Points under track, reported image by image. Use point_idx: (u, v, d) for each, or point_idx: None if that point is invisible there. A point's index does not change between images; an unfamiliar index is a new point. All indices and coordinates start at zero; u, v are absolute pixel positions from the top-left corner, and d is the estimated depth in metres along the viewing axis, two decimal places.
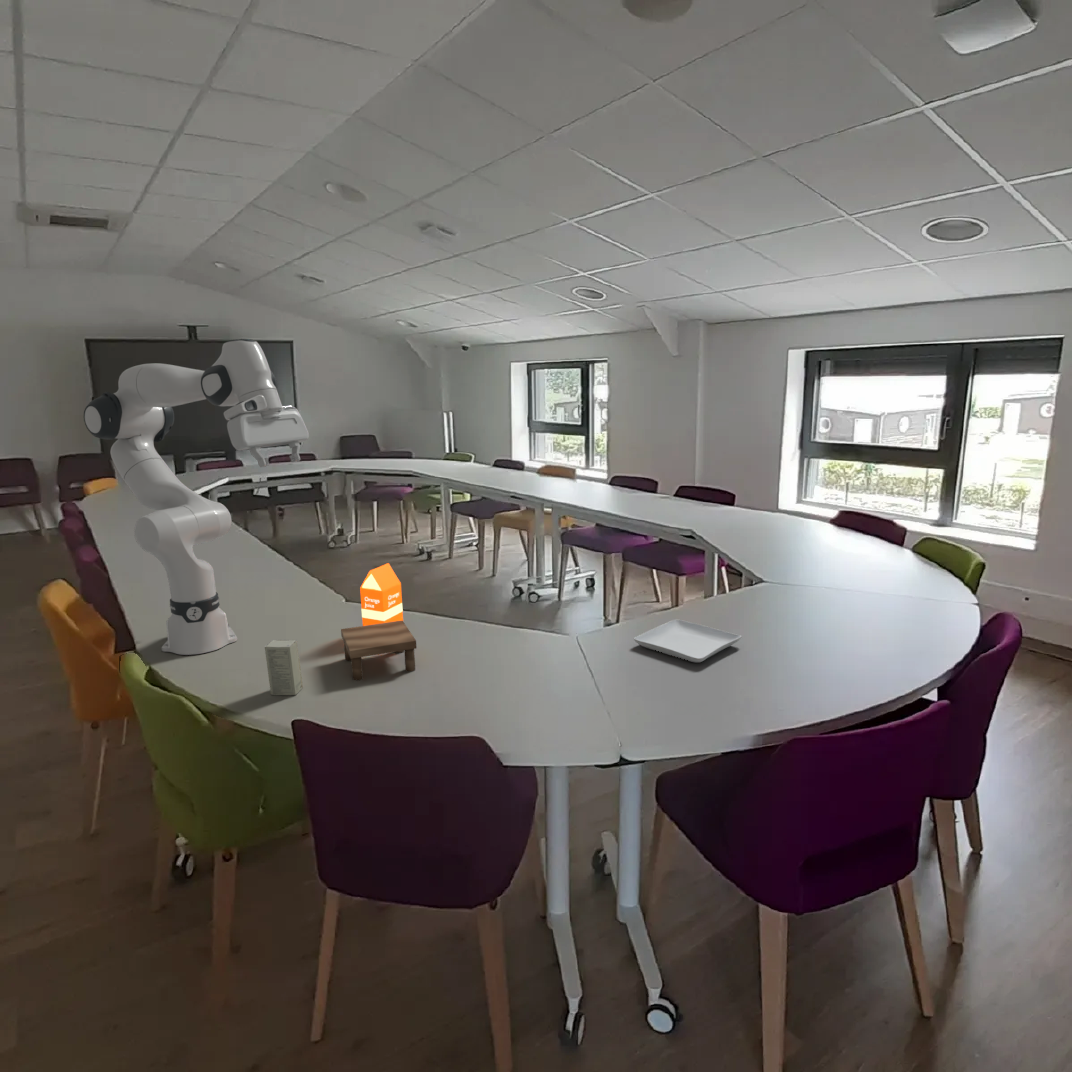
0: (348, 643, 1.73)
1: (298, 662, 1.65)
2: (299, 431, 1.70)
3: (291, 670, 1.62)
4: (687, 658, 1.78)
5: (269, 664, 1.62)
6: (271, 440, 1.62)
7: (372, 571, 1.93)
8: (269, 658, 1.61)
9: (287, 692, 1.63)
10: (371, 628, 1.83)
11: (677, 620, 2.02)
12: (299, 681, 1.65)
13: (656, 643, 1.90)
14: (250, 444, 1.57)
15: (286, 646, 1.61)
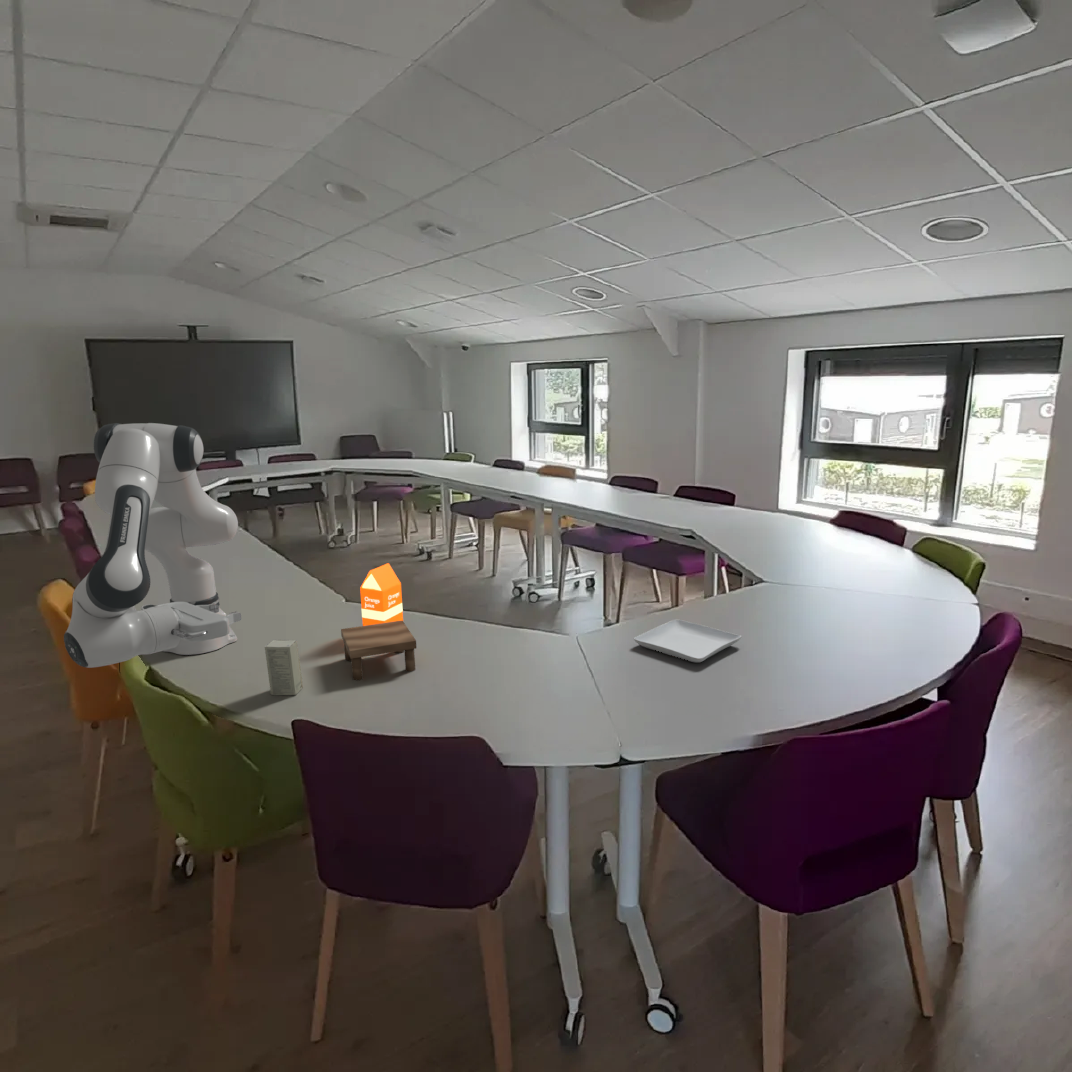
0: (348, 643, 1.73)
1: (298, 662, 1.65)
2: None
3: (291, 670, 1.62)
4: (687, 658, 1.78)
5: (269, 664, 1.62)
6: None
7: (372, 571, 1.93)
8: (269, 658, 1.61)
9: (287, 692, 1.63)
10: (371, 628, 1.83)
11: (677, 620, 2.02)
12: (299, 681, 1.65)
13: (656, 643, 1.90)
14: None
15: (286, 646, 1.61)
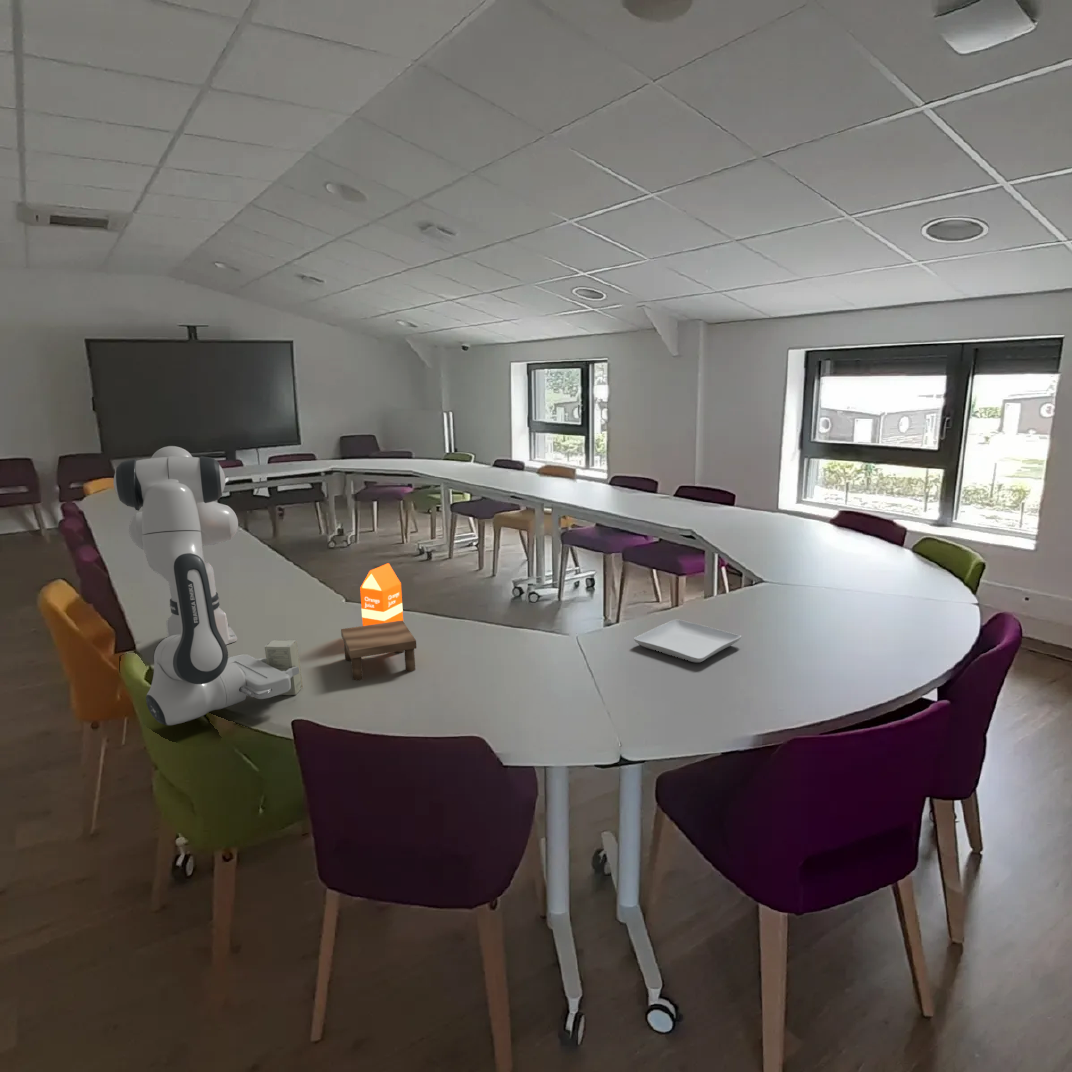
0: (348, 643, 1.73)
1: (298, 662, 1.65)
2: None
3: None
4: (687, 658, 1.78)
5: (269, 664, 1.62)
6: None
7: (372, 571, 1.93)
8: (269, 658, 1.61)
9: (287, 692, 1.63)
10: (371, 628, 1.83)
11: (677, 620, 2.02)
12: (299, 681, 1.65)
13: (656, 643, 1.90)
14: None
15: (286, 646, 1.61)
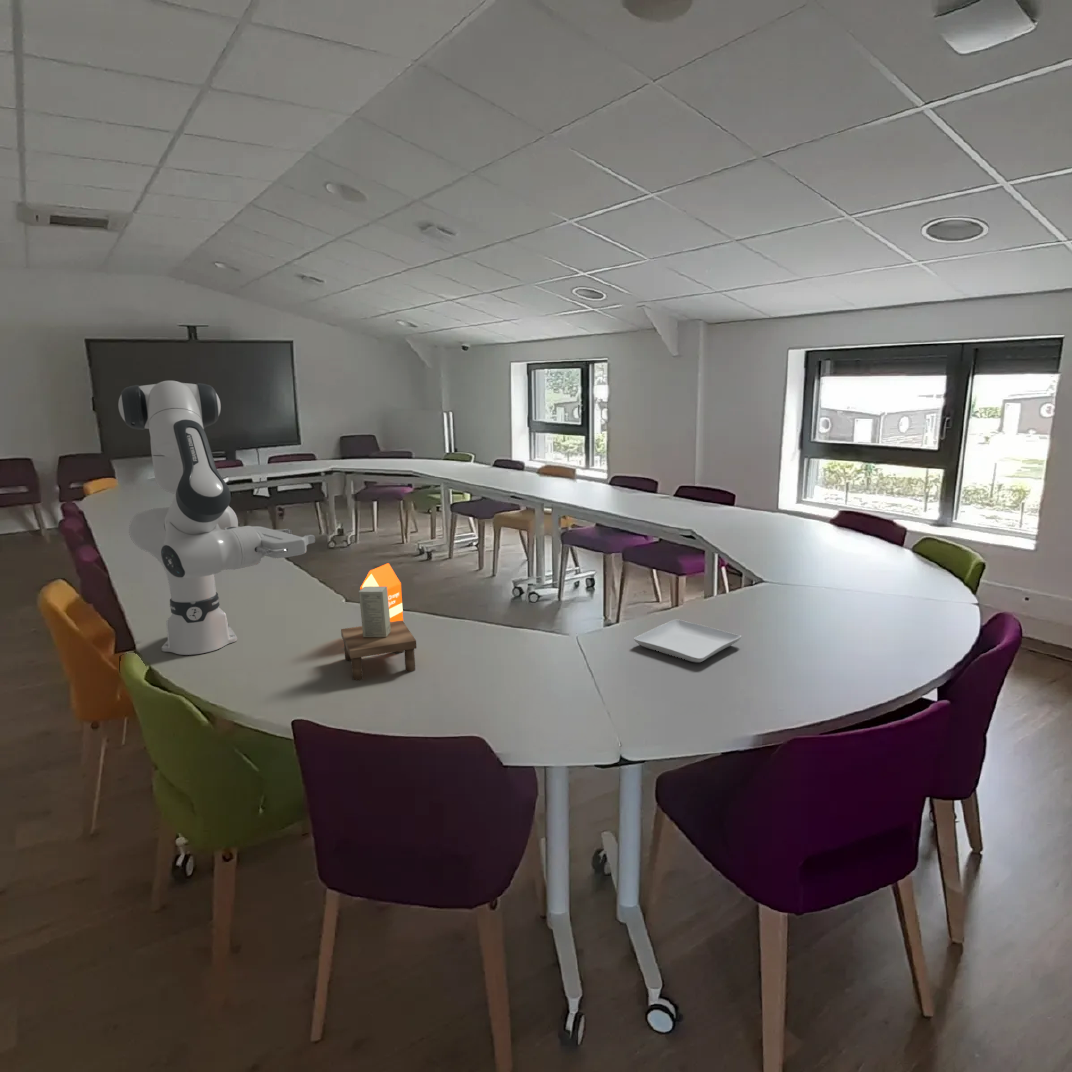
0: (348, 643, 1.73)
1: (388, 607, 1.78)
2: None
3: (383, 613, 1.75)
4: (687, 658, 1.78)
5: (362, 608, 1.75)
6: None
7: (372, 571, 1.93)
8: (363, 602, 1.74)
9: (378, 634, 1.76)
10: None
11: (677, 620, 2.02)
12: (389, 625, 1.78)
13: (656, 643, 1.90)
14: None
15: (379, 591, 1.74)
